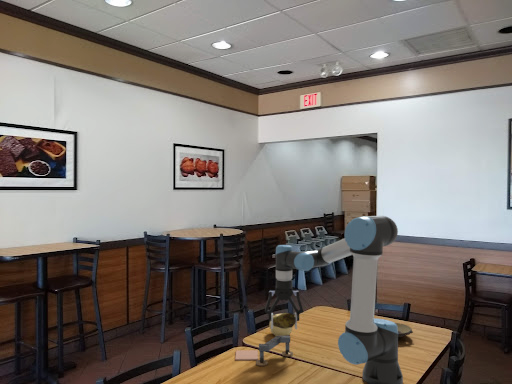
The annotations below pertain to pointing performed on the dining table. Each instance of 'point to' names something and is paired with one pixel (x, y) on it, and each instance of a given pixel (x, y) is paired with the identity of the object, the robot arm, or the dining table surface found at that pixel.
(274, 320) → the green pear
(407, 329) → the oil lamp
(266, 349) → the rail
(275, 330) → the cream lumpy ball
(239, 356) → the plate
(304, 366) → the dining table surface
